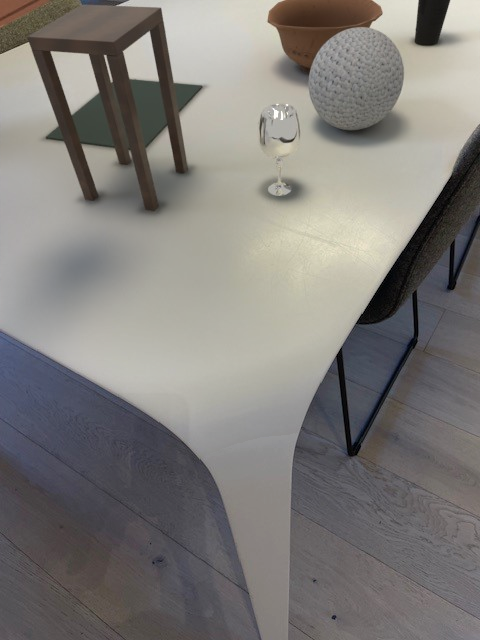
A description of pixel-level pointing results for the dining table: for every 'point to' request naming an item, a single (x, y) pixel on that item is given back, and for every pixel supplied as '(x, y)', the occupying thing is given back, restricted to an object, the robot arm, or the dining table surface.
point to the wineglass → (279, 138)
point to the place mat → (95, 123)
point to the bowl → (317, 24)
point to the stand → (110, 39)
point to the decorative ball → (356, 78)
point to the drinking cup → (430, 21)
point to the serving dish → (17, 9)
